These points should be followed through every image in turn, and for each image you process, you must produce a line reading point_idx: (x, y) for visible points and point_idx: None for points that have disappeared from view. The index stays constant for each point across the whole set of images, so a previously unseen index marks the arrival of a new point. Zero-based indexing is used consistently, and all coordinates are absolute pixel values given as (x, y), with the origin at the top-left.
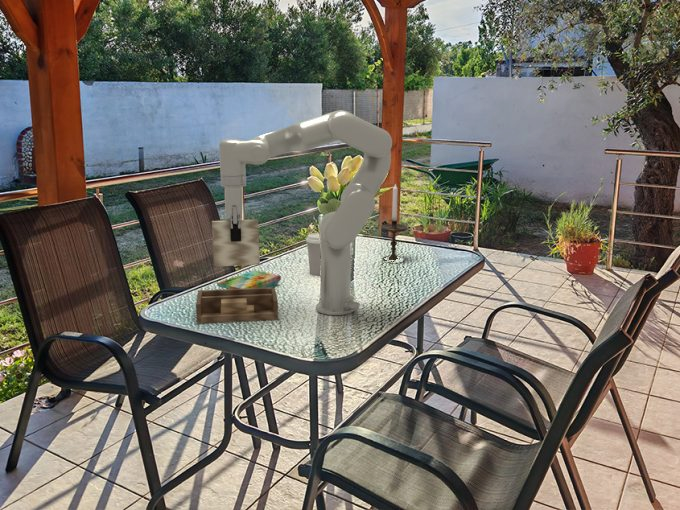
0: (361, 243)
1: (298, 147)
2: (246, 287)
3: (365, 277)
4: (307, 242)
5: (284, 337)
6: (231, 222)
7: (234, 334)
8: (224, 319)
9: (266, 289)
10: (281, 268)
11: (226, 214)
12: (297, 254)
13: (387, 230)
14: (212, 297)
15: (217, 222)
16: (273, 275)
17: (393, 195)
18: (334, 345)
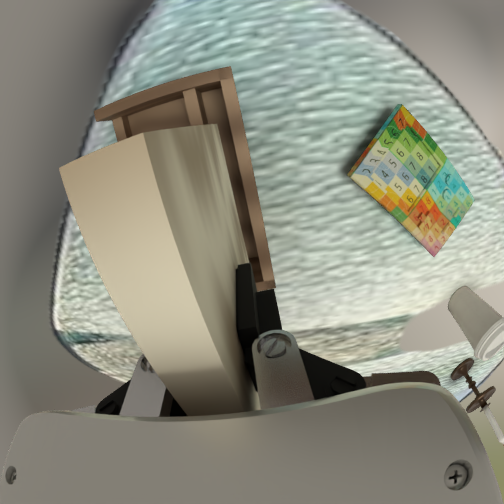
0: None
1: None
2: (363, 187)
3: (416, 361)
4: (495, 322)
5: (107, 294)
6: (126, 408)
7: None
8: None
9: (261, 269)
10: (497, 234)
11: (8, 455)
12: None
13: (476, 398)
14: (190, 122)
15: (100, 260)
16: (435, 243)
17: (498, 432)
18: (107, 353)
